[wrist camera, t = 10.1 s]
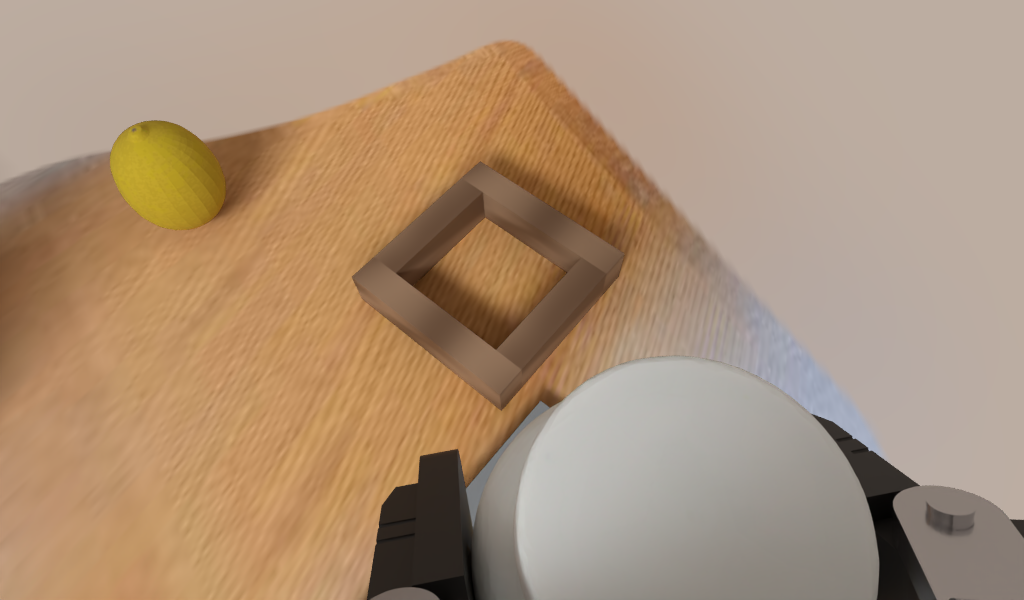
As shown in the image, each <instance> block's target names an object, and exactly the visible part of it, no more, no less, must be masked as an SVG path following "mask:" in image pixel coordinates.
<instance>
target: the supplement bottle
mask: <svg viewBox="0 0 1024 600" xmlns="http://www.w3.org/2000/svg"><path fill="white" fill-rule="evenodd" d="M471 570H472V583H473V590H474V597H475V600H877V595H878V582H879V555H878V548H877V541H876V535H875V530H874V525H873V520H872V516H871V512H870V509H869V506H868V503H867V499H866V496H865V493H864V491H863V489H862V487H861V484H860V482H859V480H858V478H857V476H856V474H855V473H854V471H853V469H852V467H851V465H850V463H849V461H848V460H847V458H846V457H845V455H844V454H843V452H842V451H841V449H840V448H839V446H838V445H837V443H836V442H835V441H834V440H833V438H832V437H831V436H830V435H829V433H828V432H827V431H826V430H825V429H824V427H823V426H822V425H821V424H820V423H819V422H818V421H817V420H816V419H815V417H814V416H813V415H811V414H810V413H809V412H808V411H807V410H806V409H805V408H804V407H802V406H801V405H800V404H799V403H798V402H796V401H795V400H794V399H793V398H791V397H790V396H789V395H787V394H786V393H784V392H783V391H782V390H780V389H779V388H777V387H776V386H774V385H773V384H771V383H769V382H767V381H765V380H763V379H762V378H760V377H758V376H756V375H754V374H752V373H749V372H747V371H745V370H743V369H740V368H738V367H734V366H731V365H728V364H725V363H722V362H718V361H714V360H709V359H704V358H699V357H690V356H659V357H650V358H643V359H638V360H633V361H629V362H625V363H622V364H620V365H617V366H614V367H612V368H609V369H607V370H605V371H603V372H601V373H599V374H597V375H595V376H593V377H592V378H590V379H588V380H587V381H585V382H584V383H583V384H581V385H580V386H579V387H577V388H576V389H575V390H574V391H572V392H571V393H570V394H569V395H568V396H567V397H566V398H565V399H564V400H563V401H561V402H560V403H558V404H556V405H554V406H552V407H551V408H549V409H548V410H546V411H545V412H544V413H542V414H541V415H539V416H538V417H536V418H535V419H534V420H533V421H532V422H530V423H529V424H528V425H527V426H526V427H525V428H524V429H523V430H522V431H521V432H520V433H519V434H518V435H517V436H516V437H515V438H514V439H513V441H512V442H511V443H510V444H509V445H508V447H507V448H506V450H505V451H504V452H503V454H502V455H501V457H500V458H499V460H498V461H497V463H496V465H495V467H494V469H493V470H492V472H491V474H490V476H489V478H488V481H487V483H486V485H485V487H484V490H483V493H482V496H481V499H480V502H479V505H478V508H477V513H476V518H475V522H474V528H473V536H472V548H471Z"/></svg>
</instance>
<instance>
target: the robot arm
mask: <svg viewBox="0 0 1024 600" xmlns="http://www.w3.org/2000/svg"><path fill="white" fill-rule="evenodd" d="M811 415H813V414H811ZM813 416H814V417H815V419H816V420H817V421H818V422H819V423H820V424H821V425H822V426H823V427H824V429H825V430H826V431H827V432H828V433H829V435H830V436H831V437H832V438H833V440H834V441H835V442H836V443H837V445H838V446H839V448H840V449H841V451H842V452H843V454H844V455H845V457H846V458H847V460H848V461H849V463H850V465H851V467H852V469H853V471H854V473H855V474H856V476H857V478H858V480H859V482H860V484H861V487H862V489H863V491H864V493H865V496H866V499H867V503H868V506H869V509H870V512H871V516H872V520H873V525H874V530H875V535H876V541H877V548H878V555H879V582H878V595H877V600H1024V520H1011V519H1009V518H1008V517H1007V515H1006V514H1005V513H1004V512H1003V511H1002V510H1001V509H1000V508H998V507H997V506H996V505H994V504H993V503H991V502H990V501H988V500H986V499H984V498H982V497H980V496H977V495H975V494H972V493H969V492H966V491H963V490H959V489H955V488H950V487H943V486H920V485H918V484H917V483H915V482H914V481H913V480H911V479H910V478H909V477H907V476H906V475H904V474H903V473H902V472H900V471H899V470H898V469H896V468H895V467H894V466H892V465H891V464H889V463H888V462H887V461H885V460H884V459H883V458H881V457H880V456H879V455H877V454H876V453H874V452H873V451H869V450H868V447H866V446H865V445H864V444H862V443H861V442H859V441H858V440H857V439H853V438H852V436H851V435H850V434H849V433H847V432H846V431H844V430H843V429H842V428H840V427H839V426H838V425H836V424H835V423H834V422H831V421H829V420H826V419H824V418H821V417H818V416H816V415H813ZM472 536H473V526H472V520H471V515H470V509H469V504H468V498H467V493H466V487H465V482H464V476H463V471H462V466H461V460H460V455H459V451H458V449H456V450H450V451H445V452H439V453H434V454H428V455H423V456H420V463H419V478H418V483H416V484H411V485H405V486H400V487H396V488H395V489H394V490H393V492H392V493H391V494H390V495H389V497H388V498H387V499H386V501H385V502H384V503H383V505H382V508H381V514H380V521H379V528H378V533H377V539H376V541H377V545H376V546H375V552H374V558H373V564H372V571H371V577H370V583H369V590H368V596H367V600H475V597H474V590H473V583H472V570H471V548H472Z"/></svg>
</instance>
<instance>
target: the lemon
mask: <svg viewBox="0 0 1024 600" xmlns="http://www.w3.org/2000/svg"><path fill="white" fill-rule="evenodd" d="M110 168H111V173H112V176H113V178H114V180H115V183H116V185H117V187H118V189H119V191H120V193H121V195H122V196H123V198H124V199H125V200H126V202H127V203H128V204H129V205H130V206H131V207H132V208H133V209H134V210H135V211H136V212H137V213H138V214H139V215H140V216H142V217H143V218H144V219H146V220H148V221H150V222H151V223H154V224H156V225H158V226H160V227H163V228H167V229H173V230H189V229H194V228H197V227H200V226H202V225H204V224H206V223H208V222H209V221H211V220H212V219H213V218H214V217H215V216H216V215H217V214H218V212H219V211H220V209H221V208H222V206H223V203H224V200H225V196H226V182H225V178H224V175H223V172H222V169H221V166H220V164H219V162H218V160H217V159H216V157H215V156H214V155H213V153H212V152H211V151H210V150H209V148H208V147H207V146H206V145H205V144H204V143H203V142H202V141H201V140H200V139H199V138H198V137H197V136H195V135H194V134H192V133H191V132H190V131H188V130H186V129H185V128H183V127H181V126H179V125H177V124H174V123H170V122H166V121H144V122H141V123H138V124H135V125H133V126H131V127H129V128H128V129H126V130H125V131H124V132H122V134H120V135H119V137H118V138H117V140H116V141H115V143H114V145H113V147H112V151H111V154H110Z"/></svg>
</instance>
